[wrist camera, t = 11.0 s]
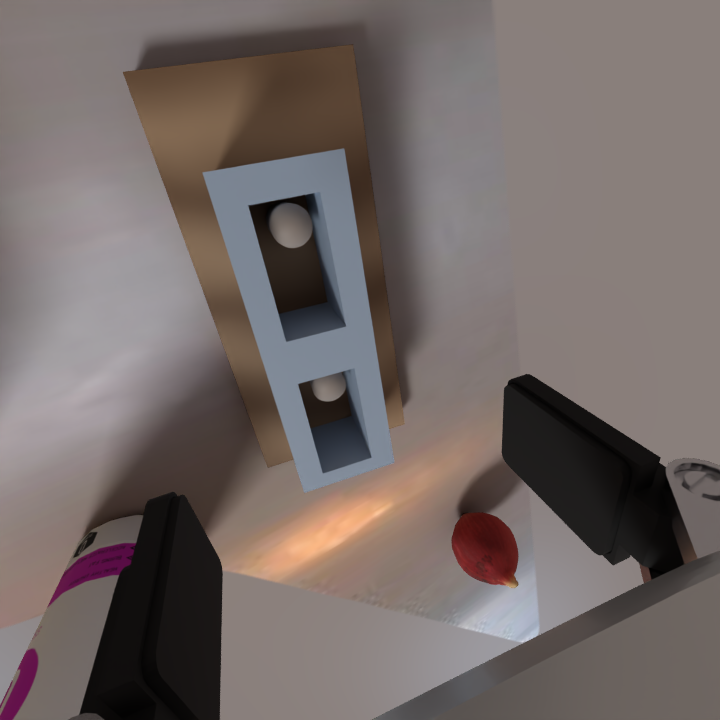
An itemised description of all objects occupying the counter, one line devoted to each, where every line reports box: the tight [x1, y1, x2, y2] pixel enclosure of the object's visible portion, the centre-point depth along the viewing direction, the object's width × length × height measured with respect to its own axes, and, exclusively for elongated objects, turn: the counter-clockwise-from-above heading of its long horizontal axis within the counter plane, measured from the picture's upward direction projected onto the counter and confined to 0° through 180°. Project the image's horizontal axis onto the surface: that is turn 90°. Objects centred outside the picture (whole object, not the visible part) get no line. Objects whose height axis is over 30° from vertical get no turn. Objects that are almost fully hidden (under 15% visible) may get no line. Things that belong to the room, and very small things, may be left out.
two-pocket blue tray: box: [202, 149, 394, 493], centre depth 22 cm, size 18×6×5 cm, turn 10°
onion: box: [452, 512, 518, 588], centre depth 35 cm, size 6×6×8 cm
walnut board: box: [123, 44, 405, 467], centre depth 22 cm, size 24×11×6 cm, turn 10°
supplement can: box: [0, 515, 143, 720], centre depth 22 cm, size 8×8×15 cm
